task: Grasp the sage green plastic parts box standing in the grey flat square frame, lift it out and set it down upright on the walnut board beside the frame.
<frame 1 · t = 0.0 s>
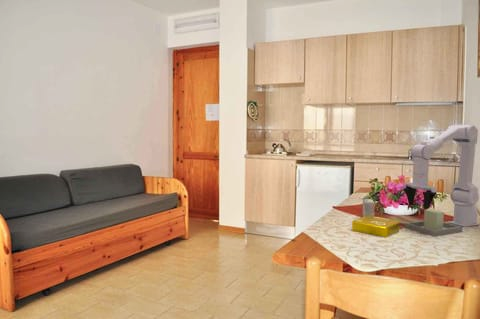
hand: (418, 206, 159), 10 cm above the table, fingers open, 7 cm apart
walnut board: (404, 221, 176), on the table
element tile: (375, 231, 161), on the table
parts box: (433, 220, 162), in the grey flat square frame
medicine box: (367, 219, 180), on the table
grey flat square frame: (433, 229, 162), on the table
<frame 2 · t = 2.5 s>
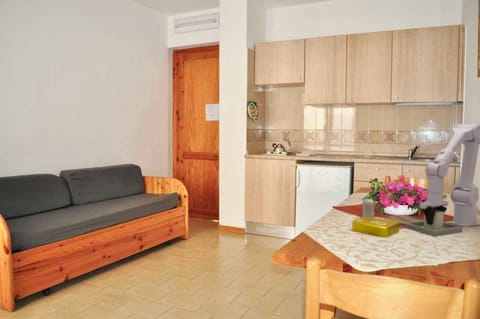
hand: (433, 224, 162), 2 cm above the table, fingers closed on parts box, 4 cm apart
parts box: (433, 220, 162), in the grey flat square frame, touching gripper
everything else where it was.
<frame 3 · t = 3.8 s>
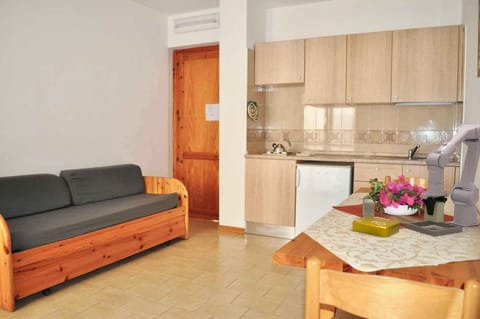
hand: (433, 214, 162), 6 cm above the table, fingers closed on parts box, 4 cm apart
parts box: (434, 210, 161), point 8 cm above the table, touching gripper
everything else where it was.
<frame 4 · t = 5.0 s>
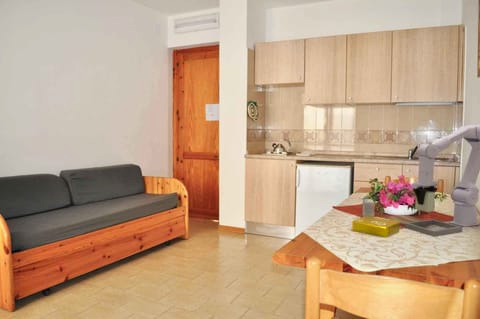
hand: (424, 204, 166), 10 cm above the table, fingers closed on parts box, 4 cm apart
parts box: (424, 200, 165), point 11 cm above the table, touching gripper
everything else where it was.
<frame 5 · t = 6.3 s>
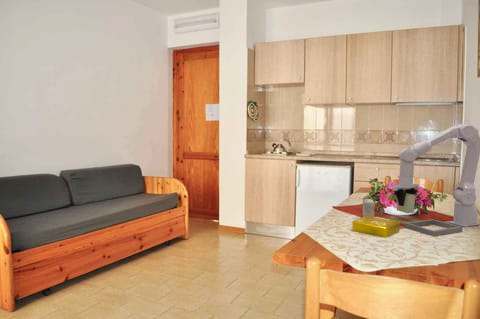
hand: (404, 205, 175), 7 cm above the table, fingers closed on parts box, 4 cm apart
parts box: (405, 202, 175), point 9 cm above the table, touching gripper
everything else where it was.
when the fingers open (4 cm above the table, at t = 7.6 s): parts box stays where it is, resting on walnut board.
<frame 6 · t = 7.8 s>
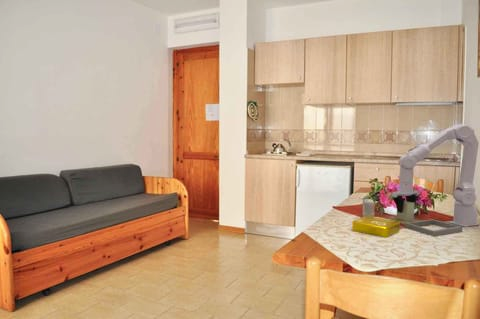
hand: (404, 211, 175), 4 cm above the table, fingers open, 5 cm apart
parts box: (405, 210, 175), on the walnut board, point 5 cm above the table
everything else where it was.
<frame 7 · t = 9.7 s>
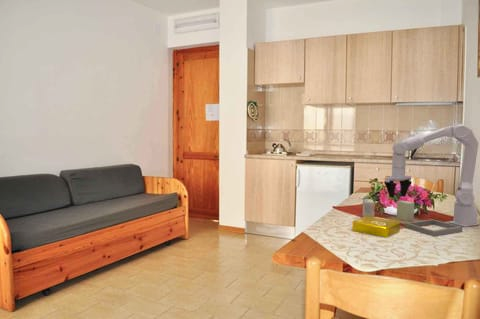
hand: (397, 196, 180), 10 cm above the table, fingers open, 7 cm apart
nothing on the table moved.
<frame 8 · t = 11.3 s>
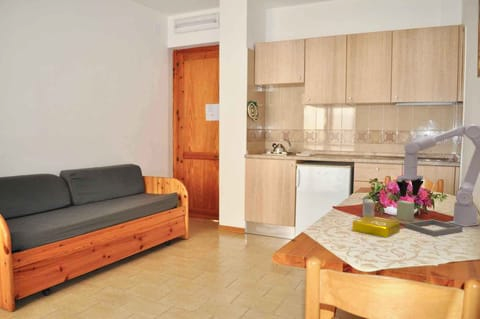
hand: (409, 196, 181), 10 cm above the table, fingers open, 7 cm apart
nothing on the table moved.
at the end: parts box inside the target area on the walnut board (0.4 cm from its centre), point 5.0 cm above the walnut board's base; parts box tilted 0°; the gripper is holding nothing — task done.
